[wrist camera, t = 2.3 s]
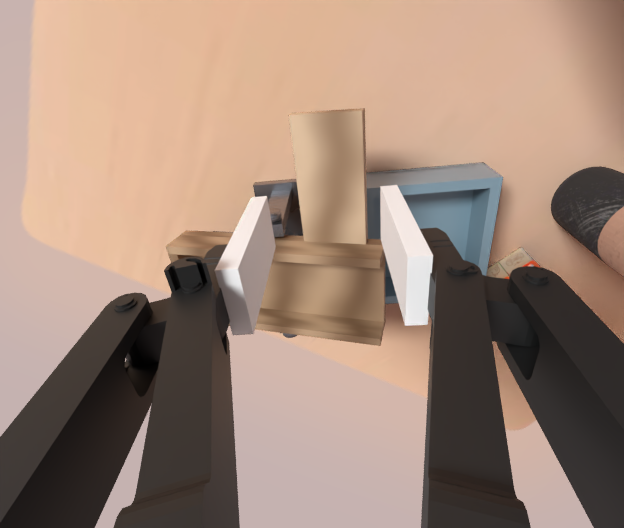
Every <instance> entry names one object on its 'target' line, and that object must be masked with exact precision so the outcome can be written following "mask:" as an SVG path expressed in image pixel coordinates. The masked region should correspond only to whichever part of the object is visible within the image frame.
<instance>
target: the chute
mask: <svg viewBox="0 0 624 528" xmlns="http://www.w3.org/2000/svg"><path fill="white" fill-rule="evenodd" d="M288 117H289V125H290V133H291V141H292V149H293V157H294V165H295V173H296V181H297V189H298V197H299V205H300V213H301V221H302V229H303V236H293V235H284V236H283V237H274V239H275V245H276V248H275V252H274V256H273V260H272V264H271V268H270V271H269V275H268V279H267V283H266V287H265V291H264V295H263V299H262V303H261V307H260V311H259V315H258V319H257V322H256V326H255V329H257V330H265V331H272V332H280V333H287V334H295V335H302V336H310V337H317V338H325V339H332V340H340V341H347V342H355V343H362V344H370V345H377V346H380V345H381V340H382V335H383V330H384V325H385V253H384V249H383V246H382V242H381V240H380V239H368V224H367V184H366V143H365V108H363V109H347V110H331V111H315V112H299V113H292V114H290V115H288ZM233 233H234V232H217V231H213V232H206V231H185V232H184V233H183V234H181V235H180V236H179V237H177V238H176V239H175V240H173V241H172V242H171V243H170V244H168V245H167V246H166V249H167V252H168V255H169V258H170V260H171V263H172V262H174V261H176V260H179V259H182V258H185V257H193V256H195V257H201V258H203V259H204V257H205V255H206V253H207V252H208V251H209V250H210V249H212V248H213V247H214V246H215V245H223V244H228V243H229V241H230V239H231V237H232V235H233ZM229 326H230V324H229Z"/></svg>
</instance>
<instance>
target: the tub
mask: <svg viewBox="0 0 624 528" xmlns="http://www.w3.org/2000/svg"><path fill="white" fill-rule="evenodd" d="M502 180H503V177H502V176H501V175H500V174H498V173H497V172H496V171H494V170H493V169H492V168H490V167H489V166H487V165H486V164H485V163H483V162H482V163H471V164H459V165H448V166H437V167H425V168H414V169H403V170H391V171H380V172H369V173H366V184H367V224H368V239H380V240H381V214H380V186H390V185H397V186H398V188H399V190H400V192H401V194H402V196H403V198H404V200H405V201H406V203H407V205H408V207H409V209H410V211H411V213H412V215H413V217H414V219H415V221H416V223H417V225H418V227H419V229H424V228H439V229H440V230H442V231H444V232H445V233H446V234H447V235H448V237H449V238H450V241H452V243H453V245H454V246H455V248H456V249H457V251H458V252H459V254H460V255H461V257H462V259H463V260H465V261H469V262H471V263H474V264H475V265H477V266H478V267H479V268H480V270H481V271H482V275H485V276H486V274H487V268H488V262H489V256H490V251H491V245H492V239H493V233H494V227H495V221H496V215H497V210H498V204H499V198H500V192H501V186H502ZM390 303H399V302H398V299H397V295H396V292H395V288H394V285H393V281H392V278H391V274H390V271H389V267H388V263H387V260H386V256H385V304H390Z"/></svg>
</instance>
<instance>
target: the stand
mask: <svg viewBox="0 0 624 528" xmlns="http://www.w3.org/2000/svg"><path fill="white" fill-rule="evenodd" d="M253 187H254V192H255V197H261V196H267V199H268V204H269V210H270V216H271V222H272V228H273V234H274V237H283V236H284V235H293V236H303V229H302V221H301V213H300V205H299V197H298V189H297V181H296V179H289V180H278V181H267V182H255V183H254V185H253ZM283 335H284V336H285V337H288V338H292V337H295V336H297V335H295V334H287V333H283Z"/></svg>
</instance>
